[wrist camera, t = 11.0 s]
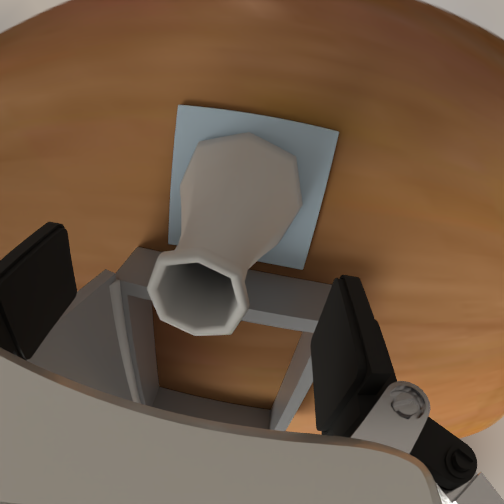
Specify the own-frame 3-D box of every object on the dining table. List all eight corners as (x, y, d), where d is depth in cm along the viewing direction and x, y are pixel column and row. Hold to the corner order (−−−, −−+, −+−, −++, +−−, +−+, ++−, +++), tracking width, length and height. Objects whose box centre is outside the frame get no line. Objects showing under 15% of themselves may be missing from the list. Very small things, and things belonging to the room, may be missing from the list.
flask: (178, 236, 20) (108, 349, 11) (186, 124, 16) (80, 168, 7) (290, 256, 19) (288, 388, 11) (315, 143, 16) (351, 209, 7)
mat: (170, 240, 20) (168, 243, 20) (180, 104, 16) (178, 104, 15) (302, 266, 20) (302, 269, 20) (337, 131, 16) (339, 132, 15)
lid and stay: (115, 404, 28) (70, 517, 15) (76, 252, 18) (-63, 425, 5) (192, 427, 28) (160, 551, 15) (198, 280, 18) (101, 539, 5)
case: (146, 387, 30) (132, 422, 26) (130, 245, 21) (97, 283, 17) (277, 415, 30) (275, 453, 25) (333, 285, 21) (342, 334, 16)
